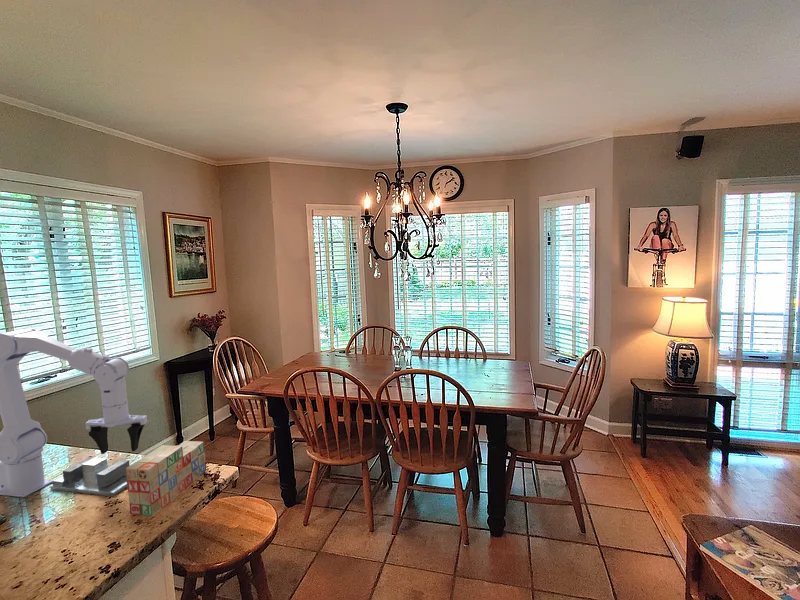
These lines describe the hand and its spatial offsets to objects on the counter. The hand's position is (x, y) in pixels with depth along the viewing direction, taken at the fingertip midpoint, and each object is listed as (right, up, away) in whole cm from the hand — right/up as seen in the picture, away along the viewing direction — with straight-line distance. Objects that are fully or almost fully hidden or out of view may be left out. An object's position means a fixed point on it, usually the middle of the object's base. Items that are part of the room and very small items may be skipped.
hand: (120, 450), depth 114 cm
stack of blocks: (+16, -10, -3) cm, 19 cm away
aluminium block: (-8, -9, +3) cm, 12 cm away
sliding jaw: (-2, -8, +1) cm, 9 cm away
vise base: (-7, -10, +2) cm, 12 cm away
